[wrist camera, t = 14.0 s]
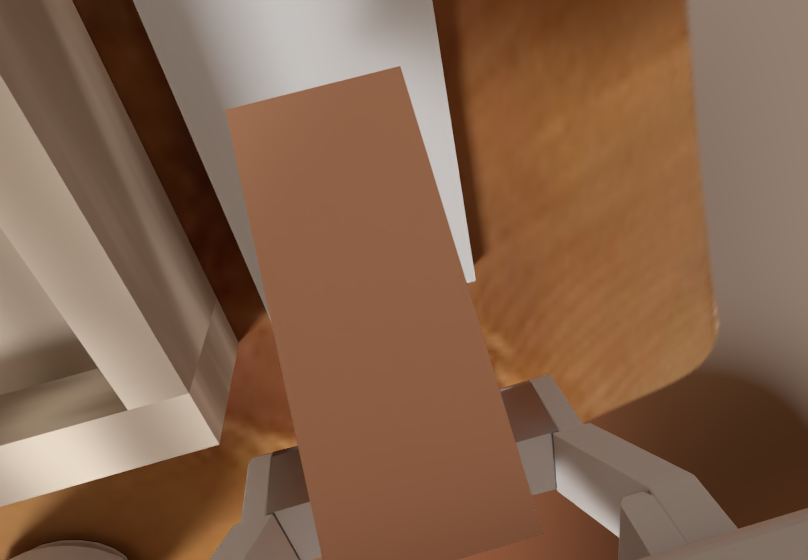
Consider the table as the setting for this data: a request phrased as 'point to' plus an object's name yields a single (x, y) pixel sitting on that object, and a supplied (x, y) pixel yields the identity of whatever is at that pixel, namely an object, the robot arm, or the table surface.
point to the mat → (299, 79)
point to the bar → (376, 328)
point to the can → (72, 551)
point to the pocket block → (92, 276)
